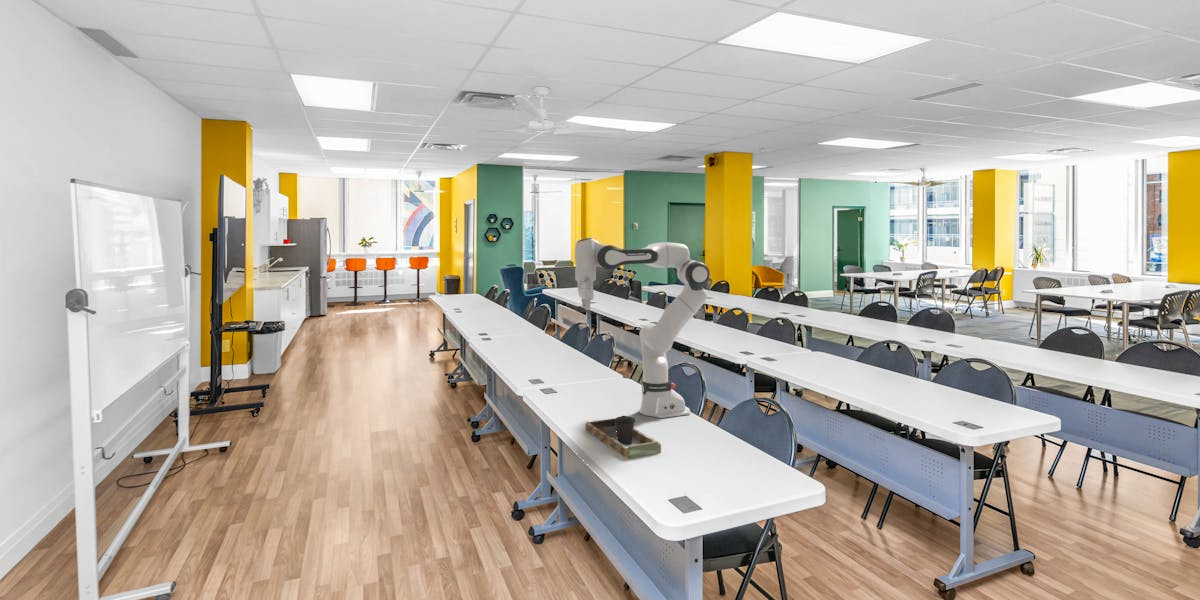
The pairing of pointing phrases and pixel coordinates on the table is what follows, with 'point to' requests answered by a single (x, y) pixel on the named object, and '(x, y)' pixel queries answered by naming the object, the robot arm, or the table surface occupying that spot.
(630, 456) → the trap box
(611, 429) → the mats
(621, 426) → the coffee cup
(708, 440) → the table surface
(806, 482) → the table surface
